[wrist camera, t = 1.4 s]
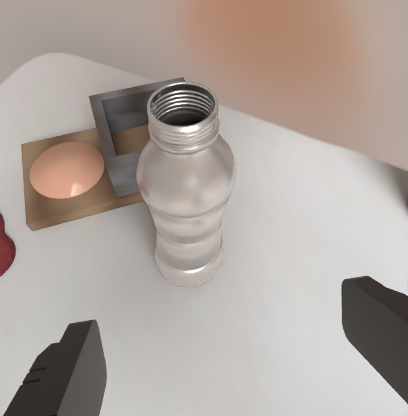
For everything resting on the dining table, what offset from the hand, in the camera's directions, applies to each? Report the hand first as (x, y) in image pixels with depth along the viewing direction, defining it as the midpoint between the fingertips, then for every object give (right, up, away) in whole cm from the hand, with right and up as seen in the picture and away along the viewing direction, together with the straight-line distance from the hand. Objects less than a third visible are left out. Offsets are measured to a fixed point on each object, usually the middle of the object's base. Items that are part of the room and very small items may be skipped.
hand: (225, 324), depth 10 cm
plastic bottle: (-2, -2, +23) cm, 23 cm away
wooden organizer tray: (-11, +9, +30) cm, 33 cm away
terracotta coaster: (-17, +8, +27) cm, 33 cm away
